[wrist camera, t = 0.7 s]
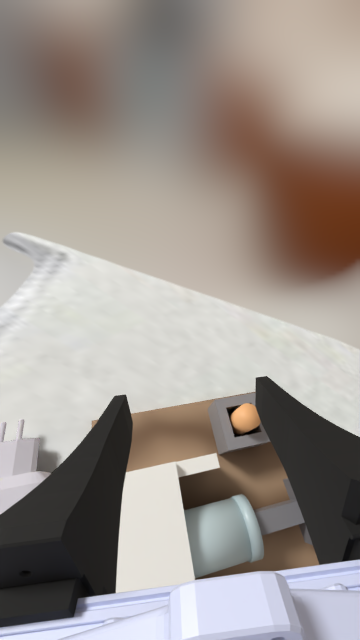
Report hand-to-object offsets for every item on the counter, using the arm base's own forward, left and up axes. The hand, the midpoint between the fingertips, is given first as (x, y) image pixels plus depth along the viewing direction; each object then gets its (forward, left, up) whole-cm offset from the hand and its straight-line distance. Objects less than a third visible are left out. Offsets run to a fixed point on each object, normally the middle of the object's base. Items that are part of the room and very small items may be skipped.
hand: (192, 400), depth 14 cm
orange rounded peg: (0, -8, -15) cm, 17 cm away
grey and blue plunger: (-8, -4, -17) cm, 19 cm away
